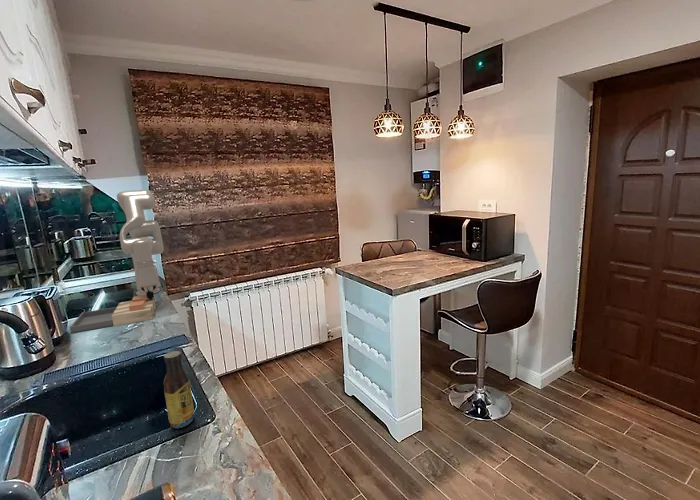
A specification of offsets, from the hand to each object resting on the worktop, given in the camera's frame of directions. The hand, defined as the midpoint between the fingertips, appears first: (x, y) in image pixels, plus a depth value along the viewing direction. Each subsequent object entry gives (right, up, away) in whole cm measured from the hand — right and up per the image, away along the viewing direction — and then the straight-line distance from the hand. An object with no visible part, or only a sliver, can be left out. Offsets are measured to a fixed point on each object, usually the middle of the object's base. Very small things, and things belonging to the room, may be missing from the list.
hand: (150, 298), depth 185 cm
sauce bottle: (+57, -22, -88) cm, 107 cm away
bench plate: (-4, -7, -6) cm, 10 cm away
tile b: (0, -3, -11) cm, 11 cm away
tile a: (-4, -1, -2) cm, 5 cm away
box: (-19, -9, -12) cm, 24 cm away
